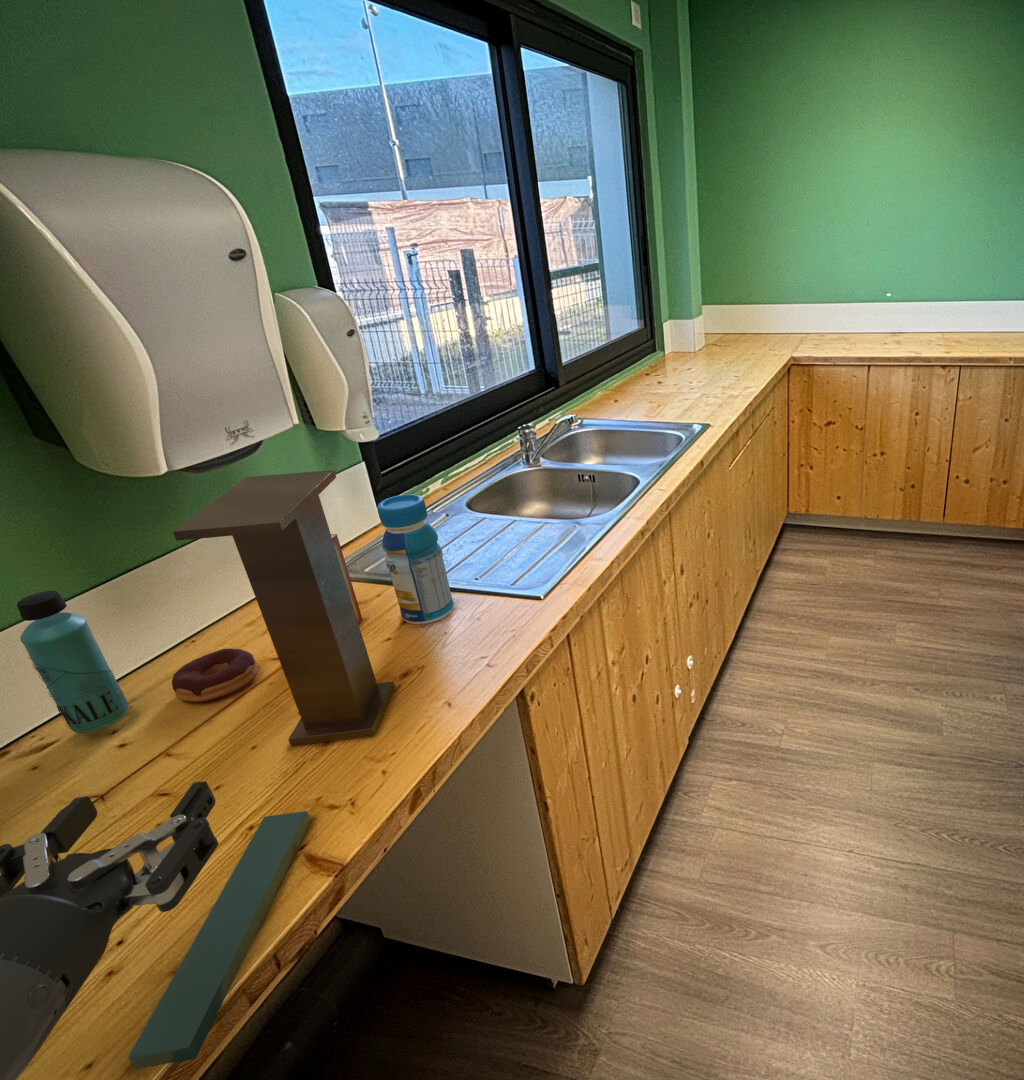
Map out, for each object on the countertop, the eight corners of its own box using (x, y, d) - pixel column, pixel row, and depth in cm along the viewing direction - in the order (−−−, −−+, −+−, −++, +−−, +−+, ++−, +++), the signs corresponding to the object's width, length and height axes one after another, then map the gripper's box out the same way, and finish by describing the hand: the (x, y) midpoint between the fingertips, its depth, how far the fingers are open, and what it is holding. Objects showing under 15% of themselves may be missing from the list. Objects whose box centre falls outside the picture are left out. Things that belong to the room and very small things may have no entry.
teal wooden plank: (268, 827, 76) (264, 816, 75) (311, 821, 76) (307, 810, 76) (135, 1069, 55) (127, 1057, 54) (195, 1059, 55) (188, 1047, 54)
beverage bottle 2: (452, 622, 113) (424, 508, 104) (396, 630, 111) (364, 515, 103) (458, 596, 120) (433, 488, 112) (406, 603, 119) (377, 494, 110)
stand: (322, 692, 97) (246, 476, 84) (397, 683, 99) (334, 469, 85) (273, 775, 83) (172, 531, 69) (361, 764, 84) (279, 522, 70)
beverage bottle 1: (112, 708, 96) (46, 580, 87) (148, 715, 94) (85, 586, 86) (61, 739, 90) (-15, 607, 82) (98, 748, 89) (25, 613, 80)
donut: (260, 656, 106) (251, 634, 104) (262, 689, 99) (253, 666, 97) (180, 680, 101) (169, 657, 100) (176, 716, 94) (164, 693, 92)
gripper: (-115, 1063, 42) (70, 843, 56) (143, 1020, 44) (258, 817, 58) (-190, 985, 39) (26, 773, 53) (92, 943, 40) (227, 748, 55)
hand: (147, 796), depth 56 cm, fingers open, 8 cm apart
